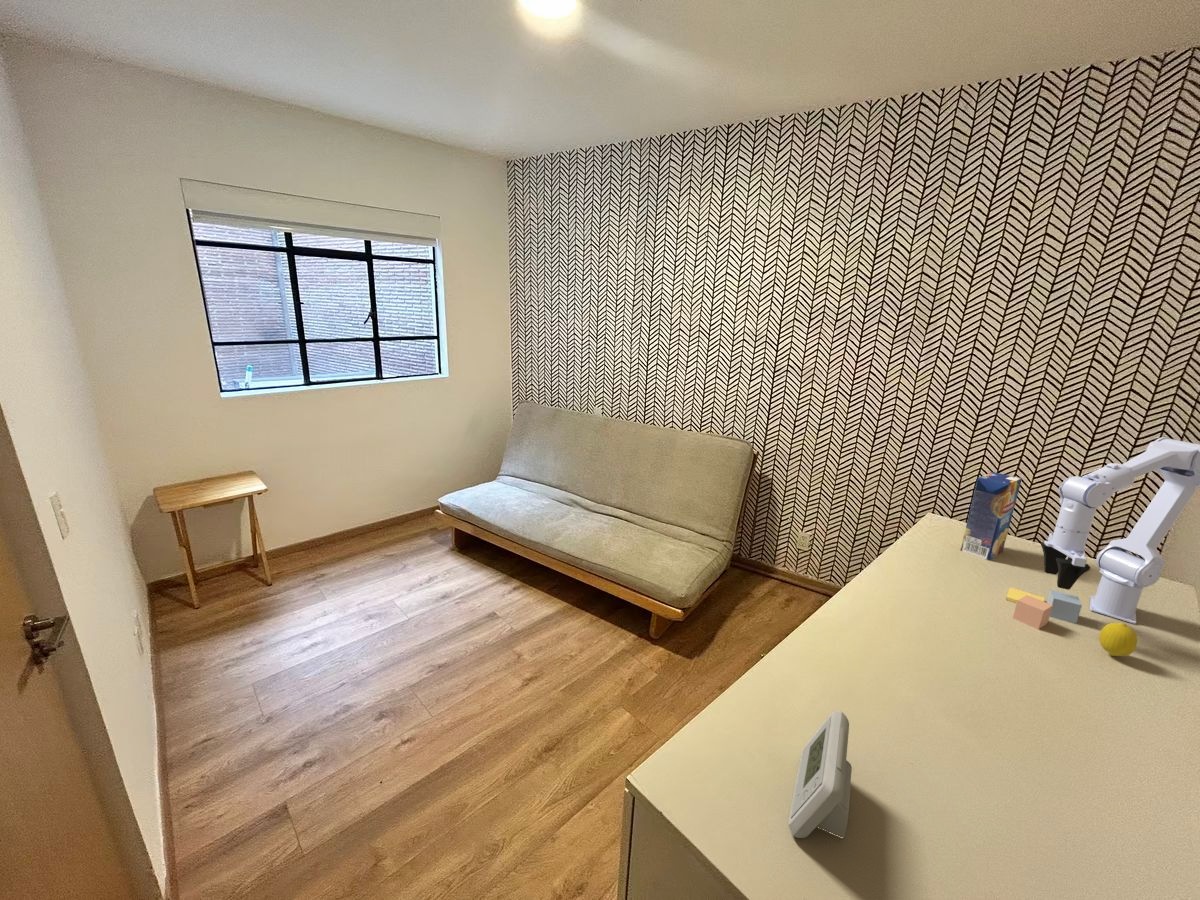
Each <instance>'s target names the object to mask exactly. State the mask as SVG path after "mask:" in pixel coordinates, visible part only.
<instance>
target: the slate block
mask: <svg viewBox="0 0 1200 900" xmlns="http://www.w3.org/2000/svg"><path fill="white" fill-rule="evenodd" d="M1046 603H1048V604H1051V605H1053V607H1052V610H1051V613H1050V617H1049V618H1054V619H1058V620H1061V621H1065V622H1069V623H1072V624H1077V622H1078V618H1079V616H1080V612H1081V609H1082V606H1083V605H1082V603H1081V600H1080V598H1079V596H1078V595H1073V594H1070V593H1065V592H1063V591H1059V590H1055V589H1050V591H1049V594H1048V598H1047V602H1046Z"/></svg>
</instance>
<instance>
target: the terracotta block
mask: <svg viewBox="0 0 1200 900" xmlns="http://www.w3.org/2000/svg"><path fill="white" fill-rule="evenodd" d="M1052 607H1053V605H1051V604H1048V603H1047V602H1046V601H1044V602H1043V601H1041V600H1038V599H1036V598H1033V597H1031V596H1028V595H1026V596H1024V597H1023V598H1021V599H1019V600H1018V601H1017V603H1016V605H1015V610H1014V612H1013V615H1012V616H1013V617H1012V619H1013V620H1016V621H1018V622H1020V623H1023V624H1025V625H1027V626H1029V627H1032V628H1035V629H1036V630H1040V629H1041V628H1042V627H1044V626H1046V625H1047V624H1048V623H1049V619H1050V618H1051V617H1050V613H1051V610H1052Z"/></svg>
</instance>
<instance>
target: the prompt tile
mask: <svg viewBox="0 0 1200 900" xmlns="http://www.w3.org/2000/svg"><path fill="white" fill-rule="evenodd" d="M1026 595H1028V596H1031V597H1033V598H1036V599H1038V600H1041V601H1043V602H1045V597H1043V596H1040V595H1037V594H1033V593H1031V592H1027V591H1024V590H1022V589H1021V590H1020V589H1017V588H1014V587H1011V586H1010V587H1009V589H1008V592H1007V594H1006V596H1005V597H1006V598H1005V600H1006V601H1009V602H1012V603H1016V604H1017V601H1018V600H1019V599H1021V598H1023V597H1024V596H1026Z"/></svg>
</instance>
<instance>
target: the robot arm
mask: <svg viewBox="0 0 1200 900" xmlns="http://www.w3.org/2000/svg"><path fill="white" fill-rule="evenodd" d="M1154 471H1157V473H1158V474H1160V475H1161V476H1162V477H1163V481H1164V482H1163V483H1162V485H1161V486H1160V487H1159V489H1158V490H1157V492H1156V494H1155V495H1154V497H1153V498H1152V499H1151V502H1149V504H1148V506H1147V508H1146V509H1145V510H1144V512H1143V513H1142V515H1141V516H1140V517H1139V519H1138V521H1137V522H1136V523H1135V524H1134V527H1133V528H1132V530H1131V531H1130V532H1129V534H1128V535H1127V537H1125V538H1120V539H1114V540H1111V541H1110V542H1109V543H1108V545H1107V546H1105V547H1104V548H1103V549H1102V550H1100V551H1099V553H1098V554H1097V556H1096V558H1095V559H1096V561H1095V563H1096V566H1097V568H1099V571H1098V572H1099V573H1100V574H1101V578H1100V581H1099V583H1098V587H1097V590H1096V593H1095V595H1092V594H1091V595H1090V603H1089V610H1090V611H1091V612H1095V613H1097V614H1102V615H1103V616H1107V617H1111V618H1114V619H1117V620H1121V621H1124V622H1127V623H1130V624H1135V625H1136V624H1137V615H1136V610H1137V607H1138V603H1139V602H1140V599H1141V596H1142V593H1143V590H1144V588H1148V587H1150V586H1152V585H1154V584H1156V583H1157V582H1158V581H1159V580H1160V578H1161V575H1162V570H1163V567H1164V566H1165V564H1166V561H1165V559H1164V557H1163V556H1162V555H1161V553H1160V552H1159V551H1158V550H1157V548H1158V547H1159V546H1160V544H1161V543H1162V542H1163V540H1164V538H1165V537H1166V535H1168V533H1169V531H1170V530H1171V528H1172V526H1173V525H1174V524H1175V523H1176V521H1177V519H1179V516H1180V515H1181V513H1182V512H1183V511H1184V509H1185V507H1187V505H1188V503H1189V502H1190V501H1191V499H1192V497H1193V496H1194V494H1195V493H1196V492H1197V490H1198V489H1199V487H1200V444H1199V443H1193V442H1188V441H1183V440H1177V439H1173V438H1170V437H1165V436H1164V437H1163V436H1162V437H1159V438H1157V439H1155V440H1154V441H1150V442H1149V444H1148V446H1147V447H1146V450H1145V451H1144V452H1142V453H1140V454H1138V455H1136V456H1135V457H1133V458H1131V459H1129V460H1128V461H1126V462H1124V463H1122V464H1121V463H1115V462H1113V463H1112V462H1110V463H1108V464H1106V465H1105V466H1103V467H1100V468H1098V469H1096V470H1094V471H1092V472H1090V473H1087V474H1085V475H1083V476H1080V475H1075V476H1071V477H1067V478H1065V479H1064V481H1062V483H1061V485H1060V486H1059V487H1058V495H1059V505H1060V510H1059V513H1058V517H1057V520H1056V523H1055V528H1054V530H1053V533H1051V532H1049V533H1048V534H1049V535H1048V537H1047V540H1044V541H1043V542H1041V543H1040V546H1041V548H1042V553H1043V558H1044V561H1043V562H1044V568H1043V569H1044V572H1045V573H1046V574H1050V575H1057V580H1056V581H1057V582H1056V583H1057V584H1056V585H1057V588H1058V589H1063V590H1067V591H1068V590H1071V588H1072V587H1073V586H1074V585H1075V583H1076V582H1077V580H1079V578H1080V577H1082V576H1083V575H1084V574H1085V573H1087V572H1089V571H1090V570H1091V565H1089V563H1087V560H1088V559H1087V558H1086V549H1085V548H1086V543H1087V540H1088V537H1089V535H1090V531H1091V527H1092V524H1093V522H1094V519H1095V518H1094V517H1095V514H1096V512H1097V508H1098V507H1102V506H1104V504H1105V503H1107V500H1108V499H1109V498H1111V497H1112V496H1113V494H1114V493H1117V492H1119V491H1121V490H1124V489H1126V488H1128V487H1129V486H1132V485H1133V484H1134V482H1135V479H1136V478H1137V477H1139V476H1143V475H1145V474H1148V473H1150V472H1154ZM1132 553H1133V554H1132ZM1134 554H1135V555H1134ZM1137 555H1139V556H1140V557H1139V556H1137ZM1142 557H1143V558H1142Z"/></svg>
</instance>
